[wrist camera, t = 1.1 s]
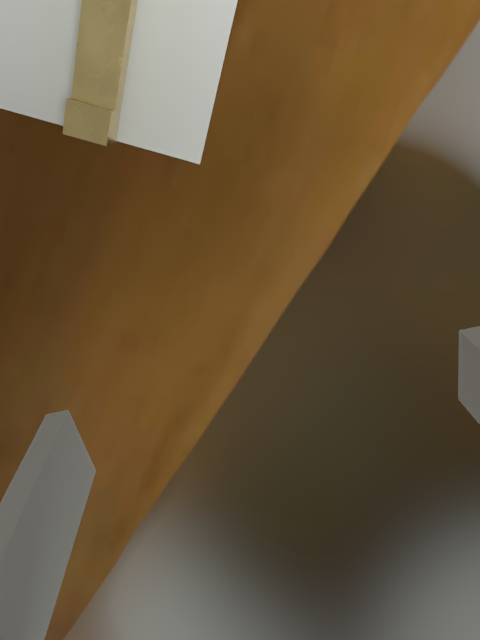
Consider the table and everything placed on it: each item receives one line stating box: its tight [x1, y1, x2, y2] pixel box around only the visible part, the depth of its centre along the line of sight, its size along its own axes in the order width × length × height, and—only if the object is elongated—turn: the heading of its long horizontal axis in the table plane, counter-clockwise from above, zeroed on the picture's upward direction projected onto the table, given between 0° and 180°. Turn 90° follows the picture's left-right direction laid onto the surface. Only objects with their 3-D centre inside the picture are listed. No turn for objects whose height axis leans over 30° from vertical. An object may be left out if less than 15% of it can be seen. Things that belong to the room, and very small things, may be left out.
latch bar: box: [63, 0, 138, 146], centre depth 26 cm, size 13×4×3 cm, turn 164°
